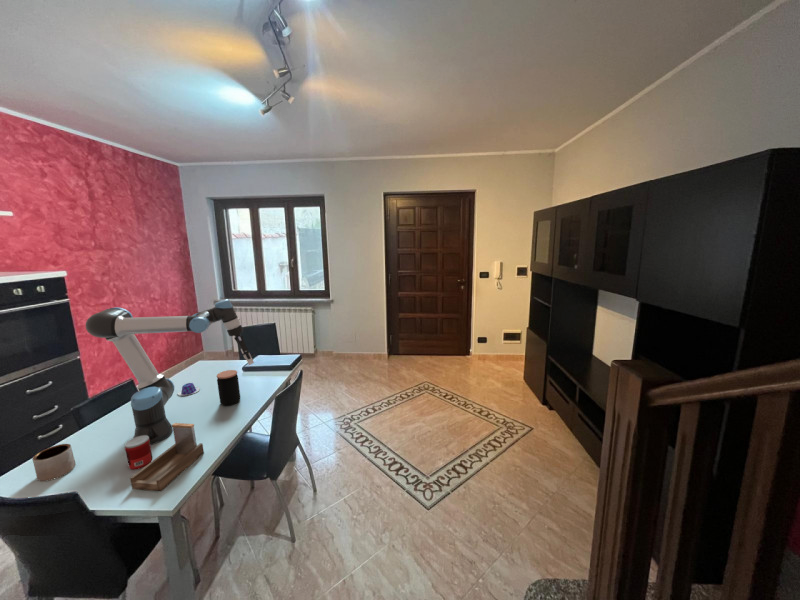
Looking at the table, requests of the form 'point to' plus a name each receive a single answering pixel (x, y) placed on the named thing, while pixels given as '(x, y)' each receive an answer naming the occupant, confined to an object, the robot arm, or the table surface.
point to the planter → (54, 462)
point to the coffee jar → (228, 387)
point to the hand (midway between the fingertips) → (249, 360)
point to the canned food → (138, 452)
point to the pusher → (184, 437)
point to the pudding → (188, 389)
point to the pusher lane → (164, 469)
